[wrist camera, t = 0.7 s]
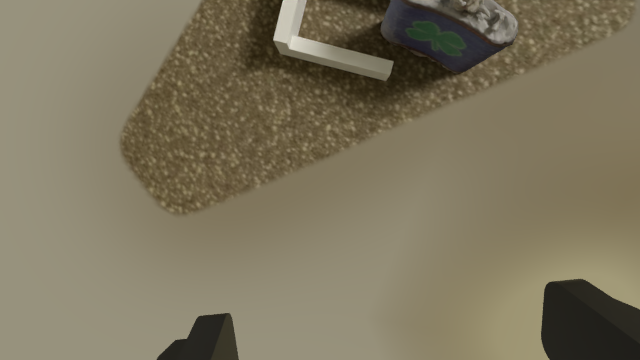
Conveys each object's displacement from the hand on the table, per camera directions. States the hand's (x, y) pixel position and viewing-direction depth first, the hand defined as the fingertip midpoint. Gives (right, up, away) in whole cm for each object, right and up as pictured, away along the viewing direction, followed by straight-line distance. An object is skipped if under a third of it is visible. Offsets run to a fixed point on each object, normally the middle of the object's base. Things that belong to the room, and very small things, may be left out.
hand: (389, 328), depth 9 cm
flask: (+8, +16, +24) cm, 31 cm away
